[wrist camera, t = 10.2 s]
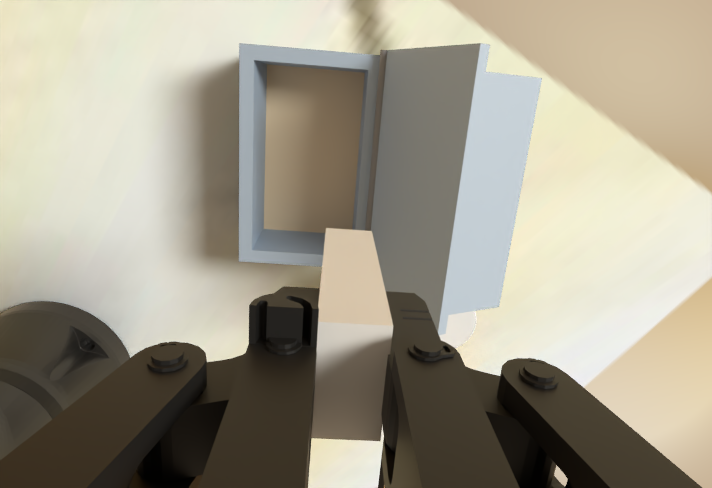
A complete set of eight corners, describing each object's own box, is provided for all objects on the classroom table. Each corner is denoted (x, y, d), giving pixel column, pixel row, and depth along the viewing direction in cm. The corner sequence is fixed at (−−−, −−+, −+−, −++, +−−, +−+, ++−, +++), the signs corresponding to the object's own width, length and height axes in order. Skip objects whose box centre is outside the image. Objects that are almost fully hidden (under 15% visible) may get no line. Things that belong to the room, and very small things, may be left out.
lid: (433, 336, 29) (495, 324, 31) (475, 42, 24) (546, 53, 26) (359, 274, 38) (412, 269, 40) (379, 50, 33) (437, 57, 35)
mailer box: (254, 235, 44) (238, 261, 38) (256, 51, 39) (239, 43, 33) (361, 242, 45) (364, 269, 38) (376, 61, 40) (383, 55, 33)
